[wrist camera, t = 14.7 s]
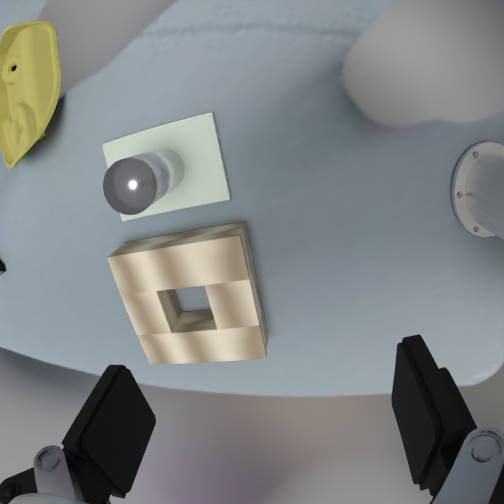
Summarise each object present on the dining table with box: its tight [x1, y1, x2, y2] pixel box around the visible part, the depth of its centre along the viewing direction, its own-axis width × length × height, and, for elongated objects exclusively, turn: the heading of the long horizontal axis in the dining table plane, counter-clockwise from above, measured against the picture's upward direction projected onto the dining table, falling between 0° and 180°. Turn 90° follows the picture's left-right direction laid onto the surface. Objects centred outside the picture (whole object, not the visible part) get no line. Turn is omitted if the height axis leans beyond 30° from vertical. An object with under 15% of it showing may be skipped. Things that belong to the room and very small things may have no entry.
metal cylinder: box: [103, 148, 184, 215], centre depth 30 cm, size 5×5×10 cm
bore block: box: [107, 222, 268, 364], centre depth 39 cm, size 16×16×5 cm
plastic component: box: [0, 20, 61, 169], centre depth 31 cm, size 20×7×10 cm
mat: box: [102, 112, 231, 221], centre depth 36 cm, size 14×10×1 cm
